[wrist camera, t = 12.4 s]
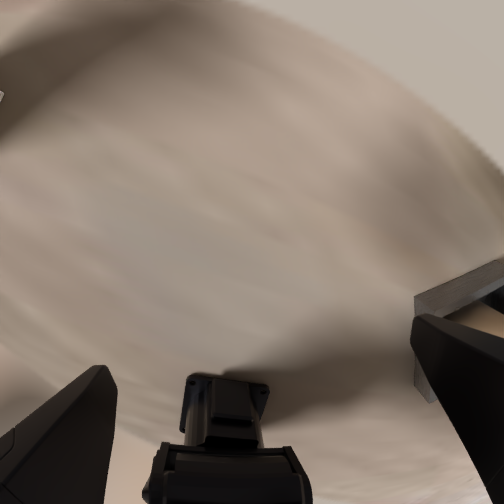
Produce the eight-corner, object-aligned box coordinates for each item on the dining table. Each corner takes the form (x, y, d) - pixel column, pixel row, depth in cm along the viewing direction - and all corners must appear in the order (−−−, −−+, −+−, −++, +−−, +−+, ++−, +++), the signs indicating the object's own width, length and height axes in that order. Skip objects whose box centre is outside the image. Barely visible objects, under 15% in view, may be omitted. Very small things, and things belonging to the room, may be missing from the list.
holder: (414, 385, 26) (428, 403, 23) (414, 296, 23) (434, 311, 20) (487, 345, 26) (503, 358, 23) (494, 260, 23) (515, 269, 21)
